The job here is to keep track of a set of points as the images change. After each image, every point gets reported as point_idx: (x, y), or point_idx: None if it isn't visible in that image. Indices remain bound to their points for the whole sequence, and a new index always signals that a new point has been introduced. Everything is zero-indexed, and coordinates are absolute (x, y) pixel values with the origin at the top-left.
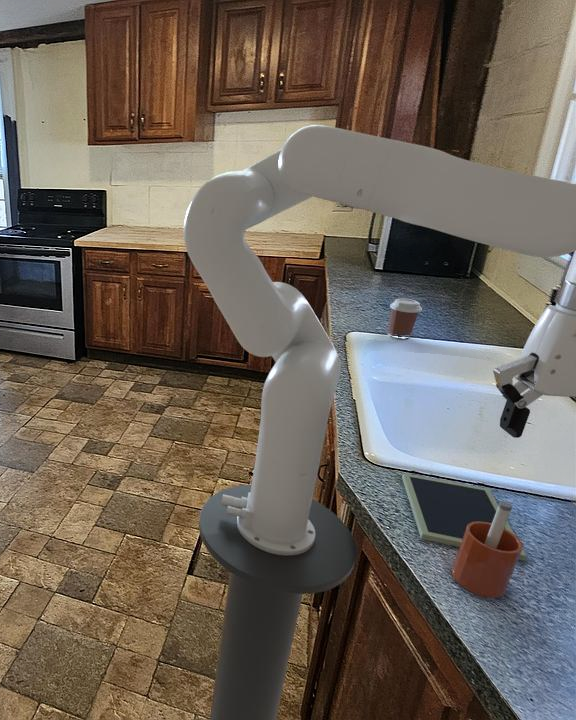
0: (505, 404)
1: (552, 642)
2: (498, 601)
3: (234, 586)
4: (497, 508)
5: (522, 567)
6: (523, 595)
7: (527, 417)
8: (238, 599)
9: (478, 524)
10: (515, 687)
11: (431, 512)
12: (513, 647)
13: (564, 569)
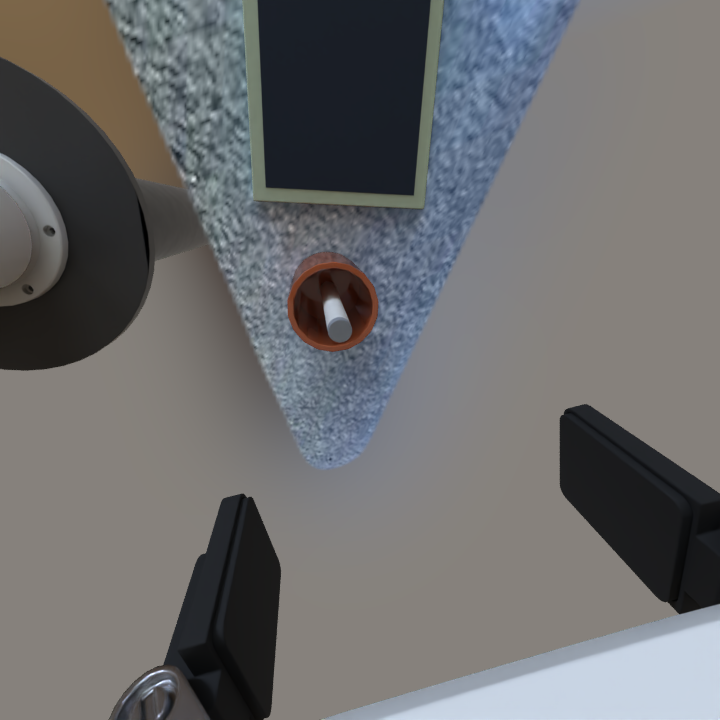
0: (168, 653)
1: (385, 375)
2: None
3: None
4: (327, 322)
5: (410, 228)
6: (384, 298)
7: (270, 672)
8: None
9: (317, 270)
10: (319, 451)
11: (283, 106)
12: (336, 399)
13: (475, 210)
